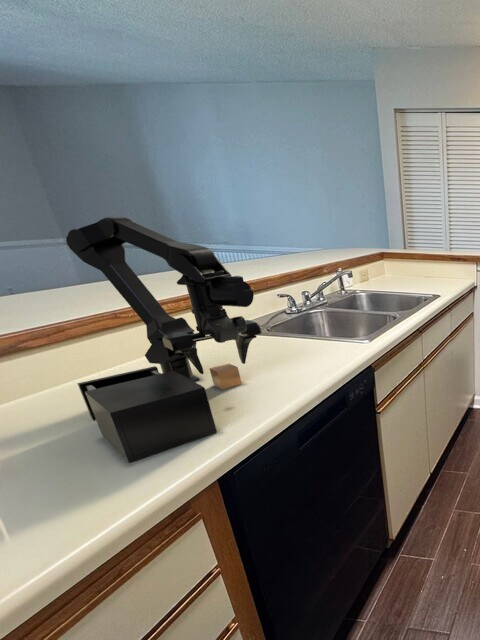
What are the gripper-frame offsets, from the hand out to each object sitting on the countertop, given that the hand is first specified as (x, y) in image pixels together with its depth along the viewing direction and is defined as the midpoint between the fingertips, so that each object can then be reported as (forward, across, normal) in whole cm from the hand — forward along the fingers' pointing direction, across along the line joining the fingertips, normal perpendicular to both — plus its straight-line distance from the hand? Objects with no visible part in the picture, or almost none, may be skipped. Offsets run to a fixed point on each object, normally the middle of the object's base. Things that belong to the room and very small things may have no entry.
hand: (223, 368), depth 103 cm
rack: (+3, -19, -7) cm, 20 cm away
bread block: (+4, 0, 0) cm, 4 cm away
